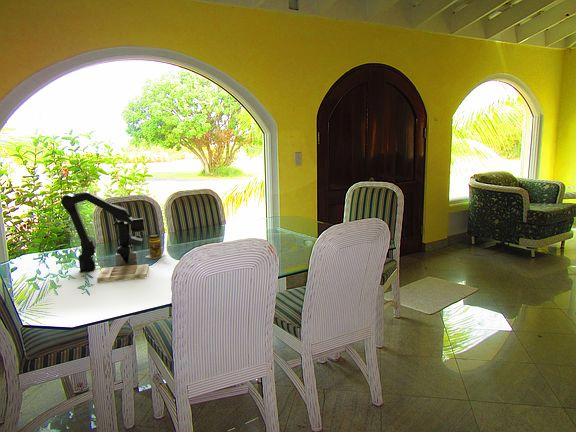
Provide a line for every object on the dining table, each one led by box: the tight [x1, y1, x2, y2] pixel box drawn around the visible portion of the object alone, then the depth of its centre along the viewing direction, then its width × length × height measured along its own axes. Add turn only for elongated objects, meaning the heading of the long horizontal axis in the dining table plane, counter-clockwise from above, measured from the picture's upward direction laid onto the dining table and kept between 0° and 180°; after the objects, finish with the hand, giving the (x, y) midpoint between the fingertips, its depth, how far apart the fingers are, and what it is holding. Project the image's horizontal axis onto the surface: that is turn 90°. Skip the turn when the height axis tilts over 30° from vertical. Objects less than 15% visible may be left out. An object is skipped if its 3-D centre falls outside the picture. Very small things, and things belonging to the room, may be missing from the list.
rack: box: [96, 263, 150, 283], centre depth 223 cm, size 22×15×2 cm
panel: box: [115, 251, 139, 267], centre depth 236 cm, size 10×2×7 cm, turn 103°
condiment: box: [145, 233, 165, 260], centre depth 251 cm, size 7×8×12 cm
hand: (127, 262), depth 236 cm, fingers closed on panel, 2 cm apart
